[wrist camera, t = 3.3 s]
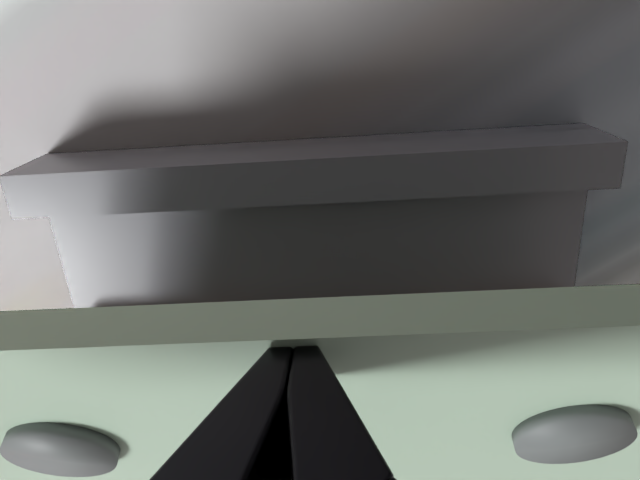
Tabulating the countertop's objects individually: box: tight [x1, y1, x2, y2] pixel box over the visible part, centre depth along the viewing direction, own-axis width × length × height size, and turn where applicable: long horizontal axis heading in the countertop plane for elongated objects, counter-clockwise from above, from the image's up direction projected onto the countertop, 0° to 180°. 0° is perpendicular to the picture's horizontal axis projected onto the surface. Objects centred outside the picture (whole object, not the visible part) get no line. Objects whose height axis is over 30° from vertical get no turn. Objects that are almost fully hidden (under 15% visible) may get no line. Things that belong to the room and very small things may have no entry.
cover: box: [0, 284, 640, 480], centre depth 13 cm, size 12×16×1 cm
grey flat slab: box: [0, 123, 628, 308], centre depth 17 cm, size 12×16×2 cm
